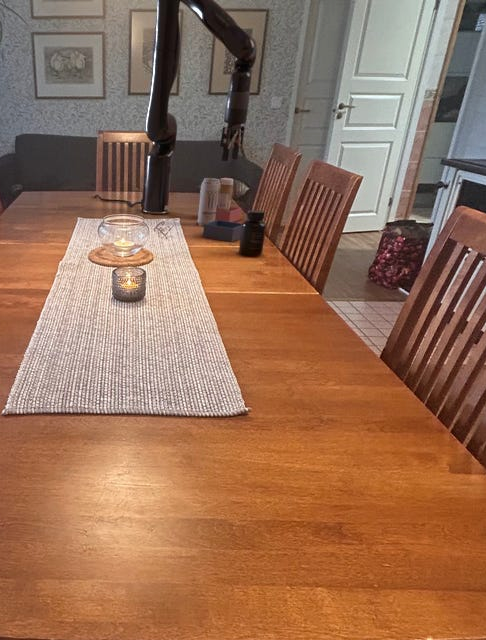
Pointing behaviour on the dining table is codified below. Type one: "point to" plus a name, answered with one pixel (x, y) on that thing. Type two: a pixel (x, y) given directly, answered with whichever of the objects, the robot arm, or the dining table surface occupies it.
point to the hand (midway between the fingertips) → (229, 160)
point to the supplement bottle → (252, 234)
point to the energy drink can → (208, 201)
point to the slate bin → (222, 230)
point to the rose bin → (228, 214)
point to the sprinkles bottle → (225, 194)
